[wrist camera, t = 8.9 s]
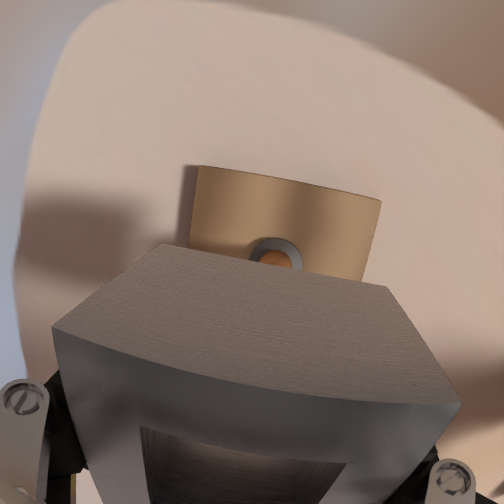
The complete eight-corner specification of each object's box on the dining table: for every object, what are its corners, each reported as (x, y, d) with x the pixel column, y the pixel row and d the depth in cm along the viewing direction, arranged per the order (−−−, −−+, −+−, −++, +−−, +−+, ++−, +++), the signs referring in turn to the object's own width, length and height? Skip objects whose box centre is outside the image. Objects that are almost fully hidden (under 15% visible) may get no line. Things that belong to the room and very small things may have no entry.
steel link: (386, 286, 8) (462, 403, 4) (324, 438, 10) (329, 551, 6) (162, 243, 9) (51, 326, 4) (156, 406, 11) (105, 508, 6)
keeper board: (376, 199, 19) (420, 220, 12) (302, 429, 25) (302, 495, 18) (204, 165, 19) (159, 169, 13) (179, 405, 25) (153, 465, 18)
